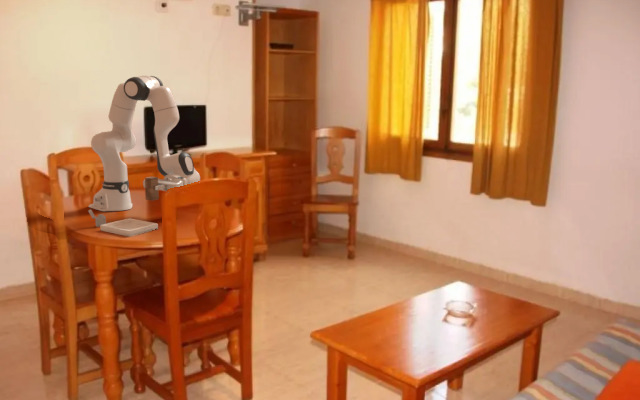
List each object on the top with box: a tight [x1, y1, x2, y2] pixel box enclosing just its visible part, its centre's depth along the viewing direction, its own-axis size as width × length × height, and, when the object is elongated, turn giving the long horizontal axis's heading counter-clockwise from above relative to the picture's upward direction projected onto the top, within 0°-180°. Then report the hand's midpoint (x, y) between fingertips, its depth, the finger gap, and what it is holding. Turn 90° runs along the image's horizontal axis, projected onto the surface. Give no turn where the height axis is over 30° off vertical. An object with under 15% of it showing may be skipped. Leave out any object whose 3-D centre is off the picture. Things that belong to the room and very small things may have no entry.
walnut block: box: [144, 176, 160, 201], centre depth 269 cm, size 4×4×10 cm
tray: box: [99, 217, 159, 238], centre depth 261 cm, size 18×16×2 cm
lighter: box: [87, 208, 107, 228], centre depth 265 cm, size 7×2×8 cm, turn 122°
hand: (150, 187), depth 268 cm, fingers closed on walnut block, 4 cm apart
